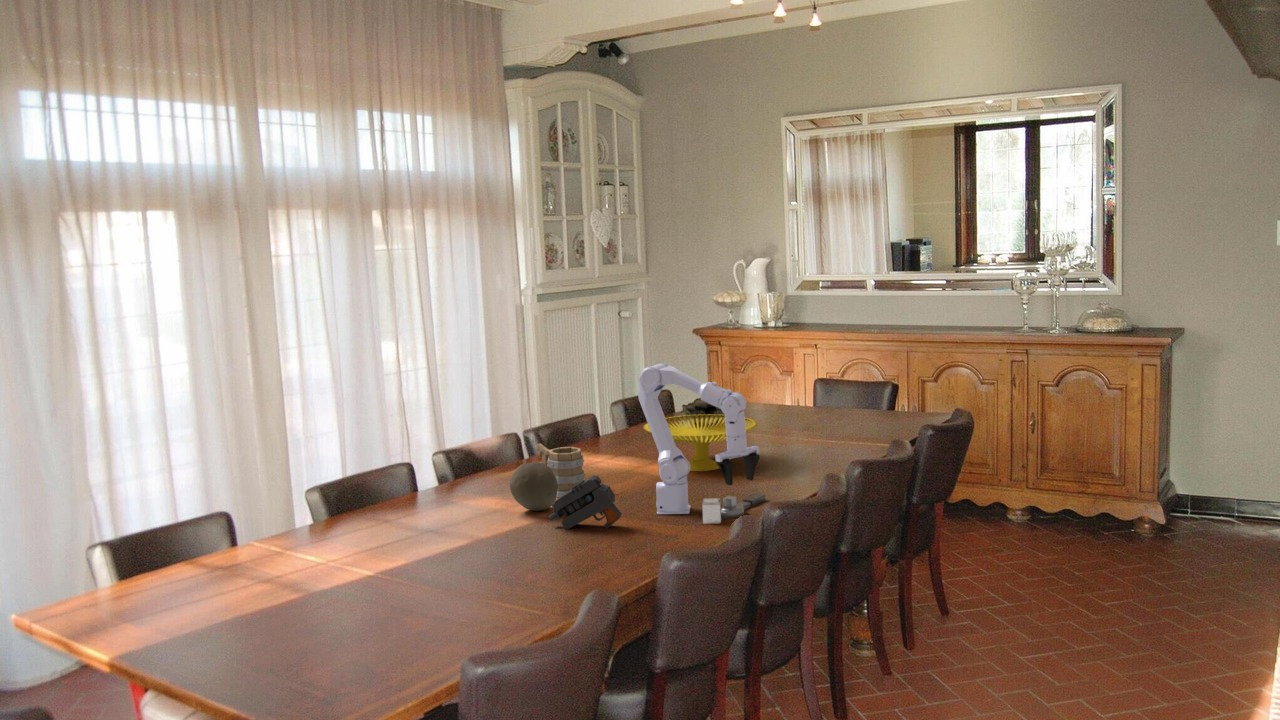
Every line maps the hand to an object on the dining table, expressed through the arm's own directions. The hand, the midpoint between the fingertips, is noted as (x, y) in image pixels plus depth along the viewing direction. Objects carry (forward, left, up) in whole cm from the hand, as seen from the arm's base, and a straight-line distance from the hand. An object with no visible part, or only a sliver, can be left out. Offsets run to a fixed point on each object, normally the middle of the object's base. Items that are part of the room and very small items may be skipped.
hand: (739, 482), depth 297 cm
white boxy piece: (-8, -4, -10) cm, 14 cm away
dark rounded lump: (-16, +127, -11) cm, 128 cm away
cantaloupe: (-62, +9, -10) cm, 64 cm away
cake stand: (-14, +64, -10) cm, 66 cm away
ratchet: (0, +9, -10) cm, 13 cm away
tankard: (-59, +33, -10) cm, 68 cm away
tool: (-44, -8, -10) cm, 46 cm away
